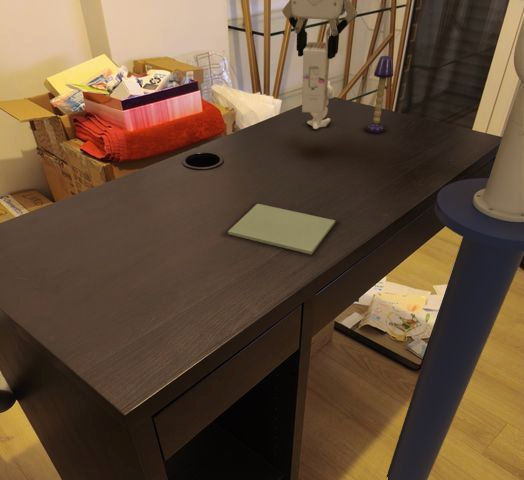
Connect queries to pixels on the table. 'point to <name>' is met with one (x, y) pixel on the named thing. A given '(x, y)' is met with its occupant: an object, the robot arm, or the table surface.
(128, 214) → the table surface
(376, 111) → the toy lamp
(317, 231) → the mat
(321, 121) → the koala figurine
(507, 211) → the robot arm
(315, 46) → the ink cartridge box
